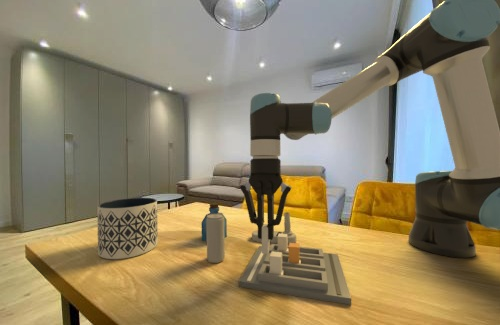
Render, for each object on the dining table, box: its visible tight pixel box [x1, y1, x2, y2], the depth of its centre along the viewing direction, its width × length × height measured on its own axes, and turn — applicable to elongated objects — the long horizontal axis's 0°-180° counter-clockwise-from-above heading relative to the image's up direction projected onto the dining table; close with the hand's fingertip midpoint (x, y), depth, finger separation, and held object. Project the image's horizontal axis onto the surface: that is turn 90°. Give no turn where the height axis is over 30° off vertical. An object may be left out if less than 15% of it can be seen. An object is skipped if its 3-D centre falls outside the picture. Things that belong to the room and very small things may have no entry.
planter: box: [96, 197, 159, 260], centre depth 65 cm, size 16×16×14 cm
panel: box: [238, 243, 352, 306], centre depth 51 cm, size 22×19×3 cm
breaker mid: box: [288, 242, 301, 264], centre depth 51 cm, size 3×2×5 cm
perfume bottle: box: [201, 202, 228, 243], centre depth 73 cm, size 6×6×12 cm
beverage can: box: [206, 213, 226, 264], centre depth 57 cm, size 5×5×12 cm
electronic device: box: [251, 211, 297, 245], centre depth 71 cm, size 5×10×15 cm
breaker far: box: [277, 233, 289, 251], centre depth 58 cm, size 3×2×5 cm
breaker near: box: [269, 251, 284, 275], centre depth 46 cm, size 3×2×5 cm
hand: (265, 251), depth 53 cm, fingers closed
